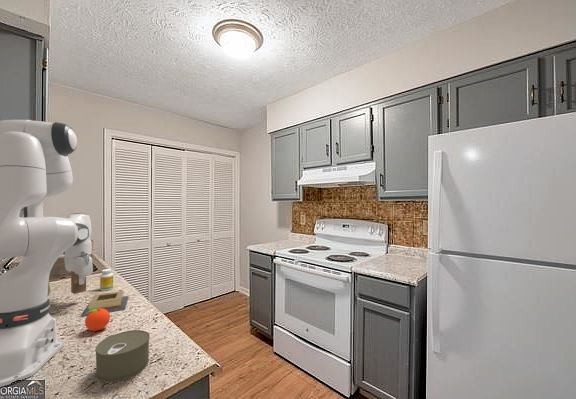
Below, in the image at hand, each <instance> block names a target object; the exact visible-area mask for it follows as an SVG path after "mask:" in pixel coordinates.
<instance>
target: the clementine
mask: <svg viewBox="0 0 576 399" xmlns="http://www.w3.org/2000/svg"><path fill="white" fill-rule="evenodd" d="M91 311H92V312H91ZM91 311H89V312H90V313H89V314H88V316H85V319H84V326H85V328H86V329H88V330H89V331H91V332H96V331H100V330H103V329H104V328H106V327H107V325H109V323H110V320H111V314H110V312H108V311H107V310H105V309H102V308H100V309H94V310H91ZM87 313H88V312H87Z"/></svg>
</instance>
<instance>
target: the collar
mask: <svg viewBox="0 0 576 399" xmlns="http://www.w3.org/2000/svg"><path fill="white" fill-rule="evenodd" d="M124 294H125V291H124V290H121V291H120V290H119V291H114V292H105V293H104V292H103V293H98V294H94V295H93V296H92V298H90V299H91V300H90V301H89V302H88V304H87V306H86V307H85V309H84V310H83V312H82V313H81V317H87V316H88V314H89V313H90V312H89V311H91V310H94V309H100V308H102V309H105V310H107V311H108V312H109V313H113V312H117V311H123V310H124V311H125V310H126V308H127V305H128V301H129V298H130V295H124ZM87 312H88V313H87ZM91 312H92V311H91Z"/></svg>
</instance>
